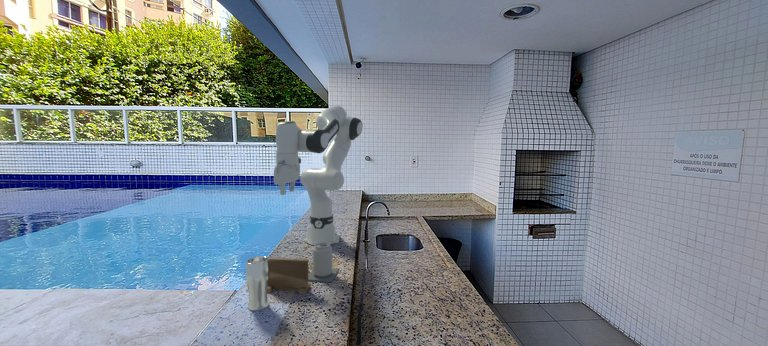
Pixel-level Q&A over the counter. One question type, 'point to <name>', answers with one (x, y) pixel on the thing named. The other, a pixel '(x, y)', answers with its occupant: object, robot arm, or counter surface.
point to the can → (322, 259)
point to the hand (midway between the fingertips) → (287, 192)
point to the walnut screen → (288, 275)
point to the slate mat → (323, 279)
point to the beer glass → (257, 282)
